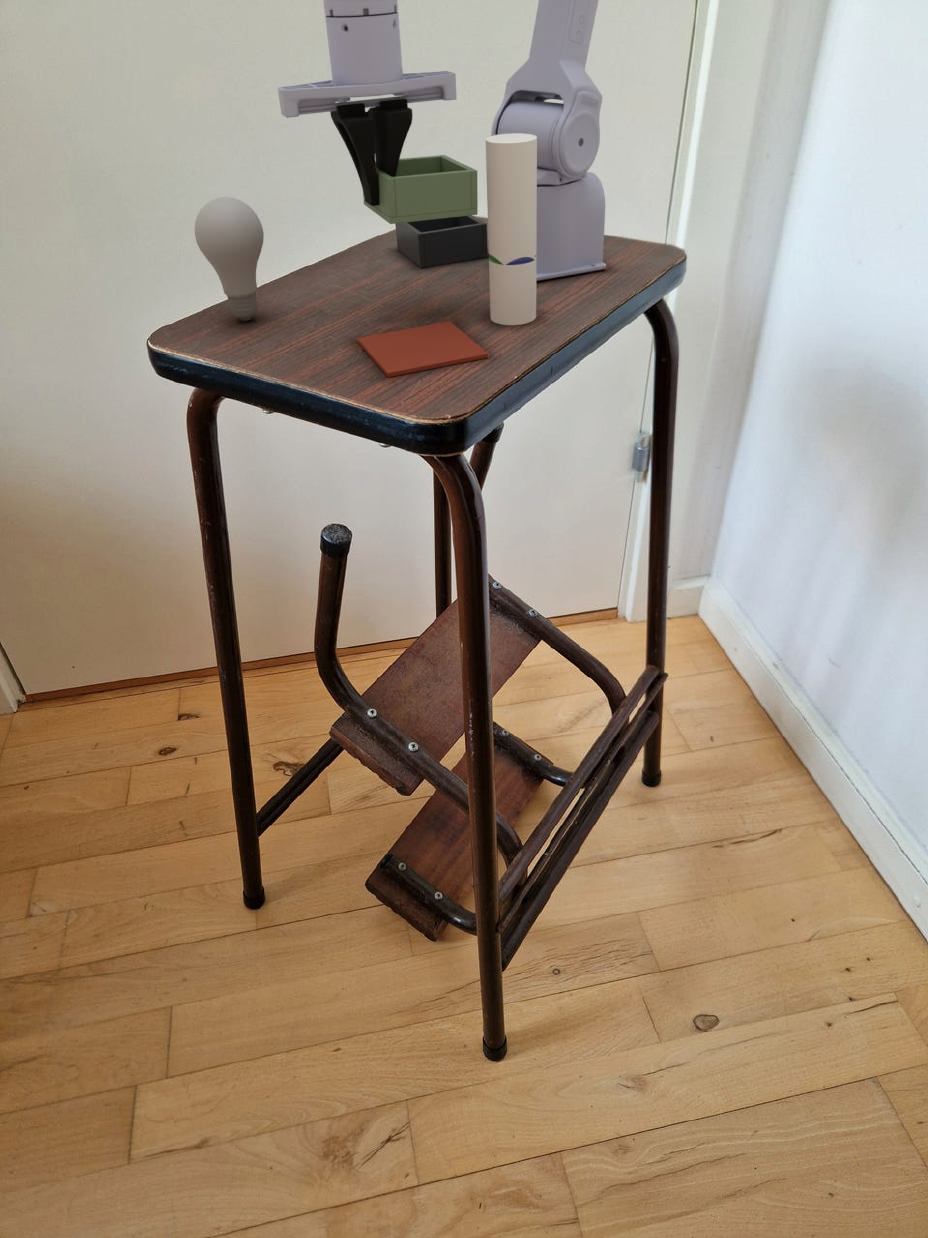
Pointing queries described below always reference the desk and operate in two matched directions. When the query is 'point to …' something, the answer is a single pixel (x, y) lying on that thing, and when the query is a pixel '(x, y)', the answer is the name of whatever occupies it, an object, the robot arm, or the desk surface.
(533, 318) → the tube
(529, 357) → the desk surface
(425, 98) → the robot arm
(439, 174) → the box
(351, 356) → the desk surface
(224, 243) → the lightbulb
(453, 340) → the mat
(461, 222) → the box
